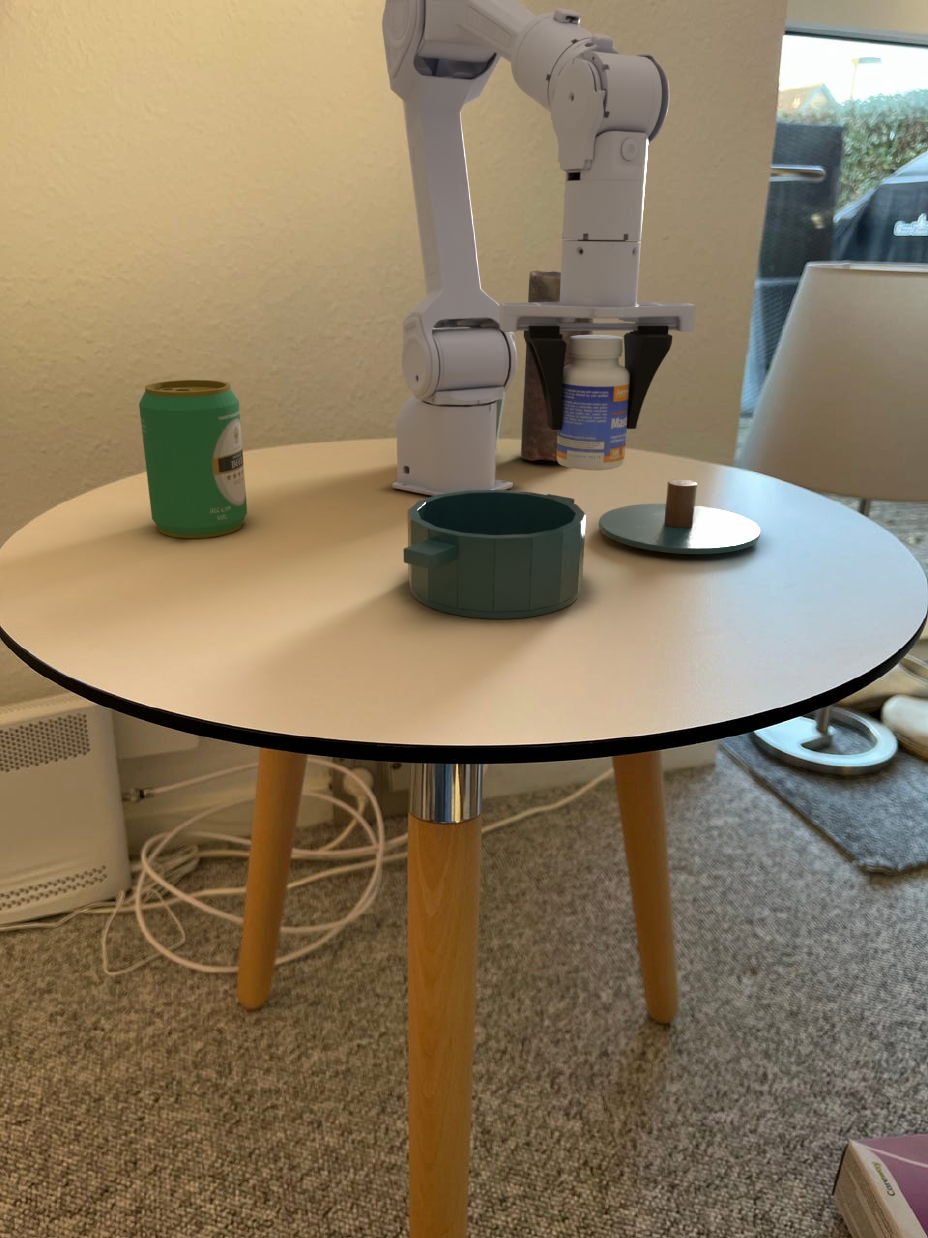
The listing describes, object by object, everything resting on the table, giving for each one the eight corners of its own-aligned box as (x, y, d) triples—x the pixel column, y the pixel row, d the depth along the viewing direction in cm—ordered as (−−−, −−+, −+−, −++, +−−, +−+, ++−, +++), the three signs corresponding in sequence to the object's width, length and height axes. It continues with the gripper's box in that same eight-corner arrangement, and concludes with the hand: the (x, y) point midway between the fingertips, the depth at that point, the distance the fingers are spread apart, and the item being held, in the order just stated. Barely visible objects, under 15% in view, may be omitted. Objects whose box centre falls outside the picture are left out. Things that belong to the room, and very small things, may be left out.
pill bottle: (622, 473, 75) (631, 341, 71) (551, 469, 76) (557, 339, 72) (625, 458, 80) (634, 334, 76) (559, 454, 81) (564, 332, 77)
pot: (348, 603, 68) (345, 524, 66) (494, 542, 82) (496, 475, 79) (494, 646, 61) (496, 560, 59) (628, 572, 75) (633, 500, 73)
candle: (550, 448, 116) (558, 269, 109) (600, 458, 111) (611, 271, 104) (507, 458, 111) (512, 270, 103) (557, 469, 106) (566, 273, 99)
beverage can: (223, 543, 81) (210, 395, 76) (135, 535, 82) (117, 390, 78) (262, 517, 88) (253, 380, 84) (181, 511, 90) (167, 377, 85)
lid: (569, 540, 82) (572, 485, 81) (642, 507, 92) (646, 457, 91) (720, 572, 75) (727, 513, 73) (782, 532, 85) (789, 479, 83)
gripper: (511, 240, 67) (506, 438, 72) (716, 242, 69) (697, 435, 74) (497, 239, 74) (493, 420, 79) (684, 240, 75) (669, 418, 80)
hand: (590, 427), depth 77 cm, fingers closed on pill bottle, 5 cm apart
